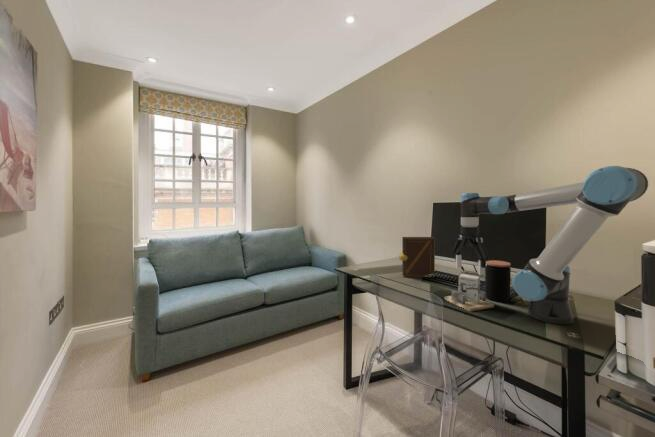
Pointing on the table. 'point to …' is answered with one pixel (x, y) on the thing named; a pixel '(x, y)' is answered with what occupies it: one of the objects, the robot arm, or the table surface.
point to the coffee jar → (497, 280)
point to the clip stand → (460, 301)
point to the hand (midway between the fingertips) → (469, 271)
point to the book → (417, 256)
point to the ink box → (469, 287)
